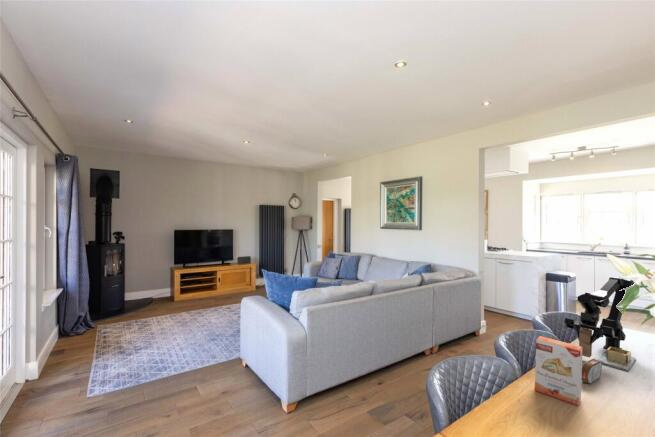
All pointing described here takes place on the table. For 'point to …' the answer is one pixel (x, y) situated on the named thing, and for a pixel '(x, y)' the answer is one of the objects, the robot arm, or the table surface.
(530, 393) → the table surface
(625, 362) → the base plate
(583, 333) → the brown square block
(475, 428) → the table surface
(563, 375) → the cracker box
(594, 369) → the tin
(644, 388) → the table surface
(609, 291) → the robot arm
